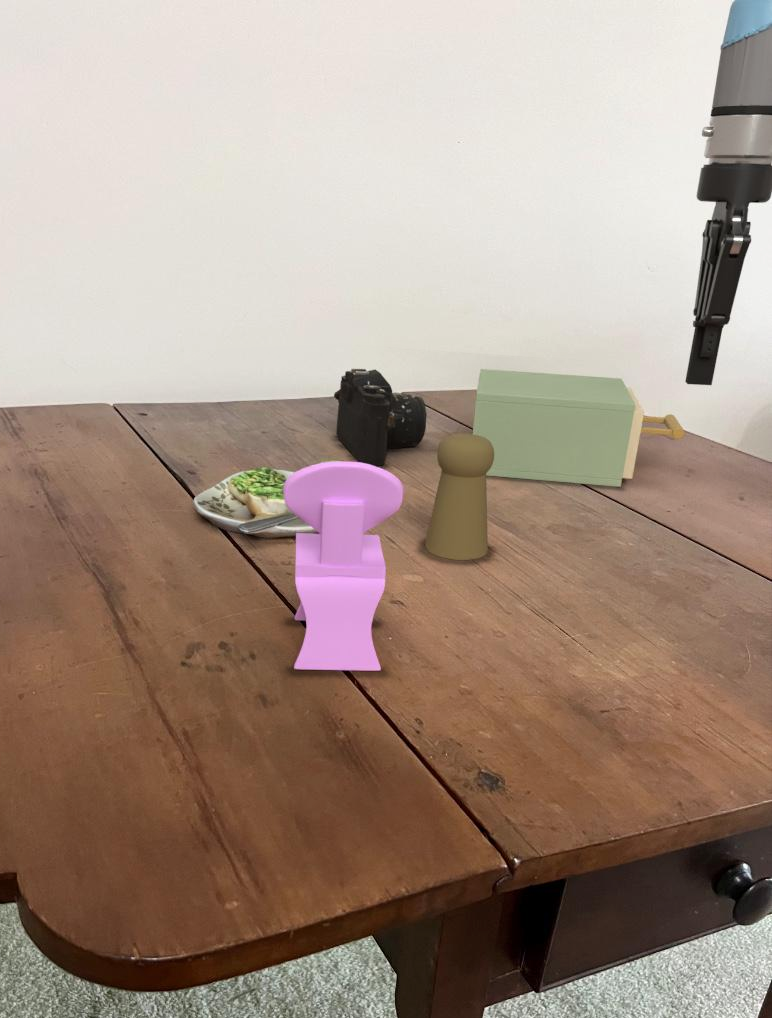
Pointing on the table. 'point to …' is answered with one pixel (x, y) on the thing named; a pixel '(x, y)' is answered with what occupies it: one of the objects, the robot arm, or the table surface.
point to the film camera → (376, 416)
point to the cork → (461, 498)
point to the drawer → (637, 428)
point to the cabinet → (555, 426)
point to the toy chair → (340, 560)
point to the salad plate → (252, 504)
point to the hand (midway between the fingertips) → (698, 383)
